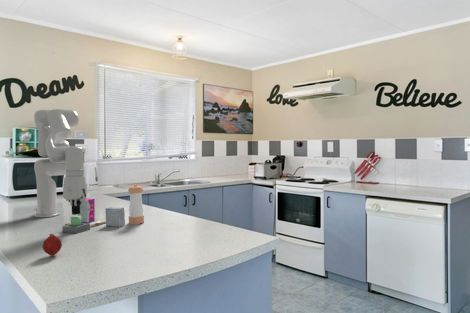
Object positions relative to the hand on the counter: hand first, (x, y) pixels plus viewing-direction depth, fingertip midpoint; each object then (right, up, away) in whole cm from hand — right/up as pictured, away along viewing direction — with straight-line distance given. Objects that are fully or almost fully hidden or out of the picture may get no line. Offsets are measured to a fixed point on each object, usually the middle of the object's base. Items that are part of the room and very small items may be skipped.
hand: (76, 214), depth 154 cm
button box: (0, -8, 0) cm, 8 cm away
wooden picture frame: (-1, -7, +13) cm, 15 cm away
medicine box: (+15, -7, +9) cm, 19 cm away
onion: (+9, -9, -36) cm, 38 cm away
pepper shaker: (+23, -7, +14) cm, 28 cm away
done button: (0, -6, 0) cm, 6 cm away
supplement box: (-1, -7, +14) cm, 15 cm away
